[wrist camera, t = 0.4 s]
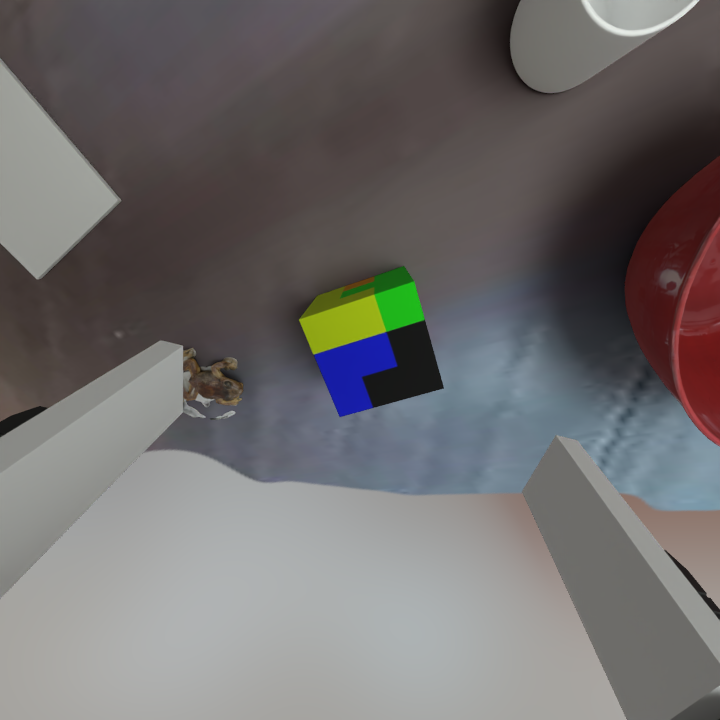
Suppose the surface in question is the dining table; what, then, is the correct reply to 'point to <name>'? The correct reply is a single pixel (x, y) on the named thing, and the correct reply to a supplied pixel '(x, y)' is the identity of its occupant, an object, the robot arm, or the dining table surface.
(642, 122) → the dining table surface
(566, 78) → the mug
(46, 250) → the grey mat
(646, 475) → the dining table surface
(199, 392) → the frog figurine
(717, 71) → the dining table surface
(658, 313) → the mixing bowl
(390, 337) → the puzzle toy
